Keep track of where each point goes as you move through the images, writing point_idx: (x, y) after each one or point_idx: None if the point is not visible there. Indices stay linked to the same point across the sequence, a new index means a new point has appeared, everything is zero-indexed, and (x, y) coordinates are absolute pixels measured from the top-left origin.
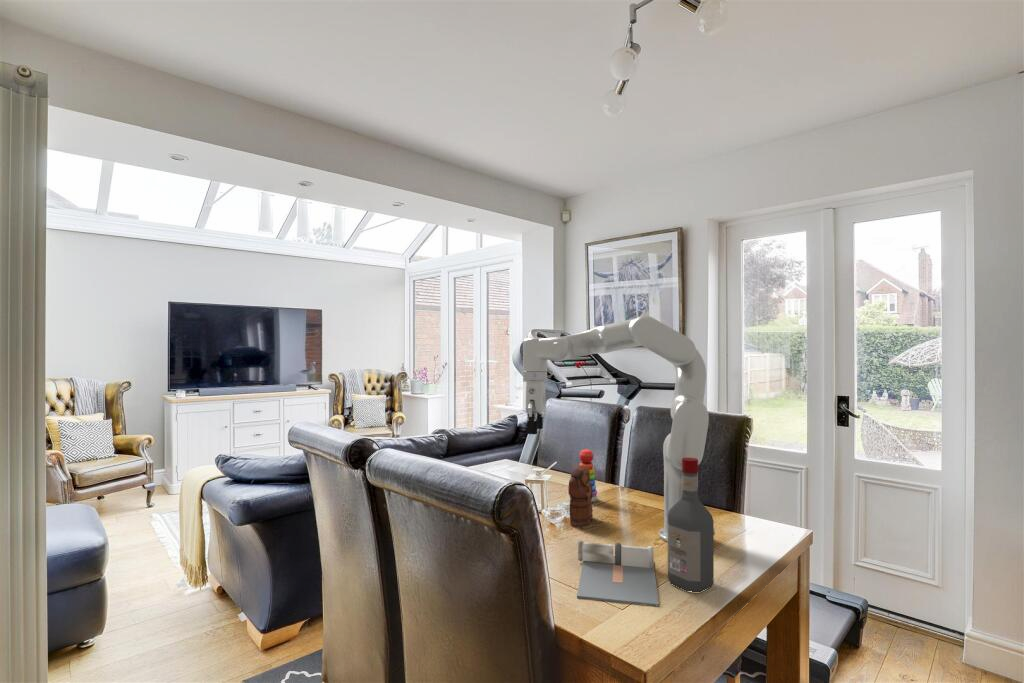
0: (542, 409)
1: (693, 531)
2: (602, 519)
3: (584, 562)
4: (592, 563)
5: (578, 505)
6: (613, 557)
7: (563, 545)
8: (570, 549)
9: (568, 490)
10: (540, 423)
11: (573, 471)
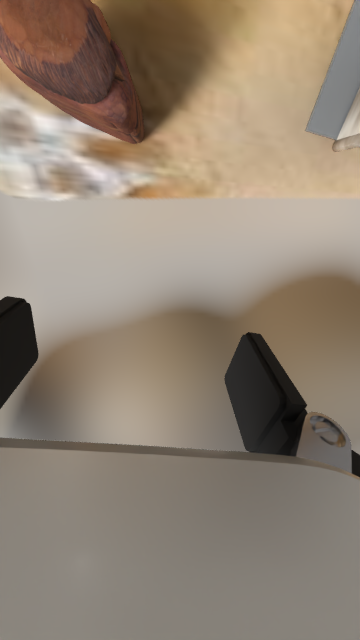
0: (314, 553)
1: None
2: None
3: None
4: None
5: (137, 103)
6: (345, 48)
7: (249, 175)
8: (270, 161)
9: (124, 132)
10: (3, 335)
11: (86, 79)
